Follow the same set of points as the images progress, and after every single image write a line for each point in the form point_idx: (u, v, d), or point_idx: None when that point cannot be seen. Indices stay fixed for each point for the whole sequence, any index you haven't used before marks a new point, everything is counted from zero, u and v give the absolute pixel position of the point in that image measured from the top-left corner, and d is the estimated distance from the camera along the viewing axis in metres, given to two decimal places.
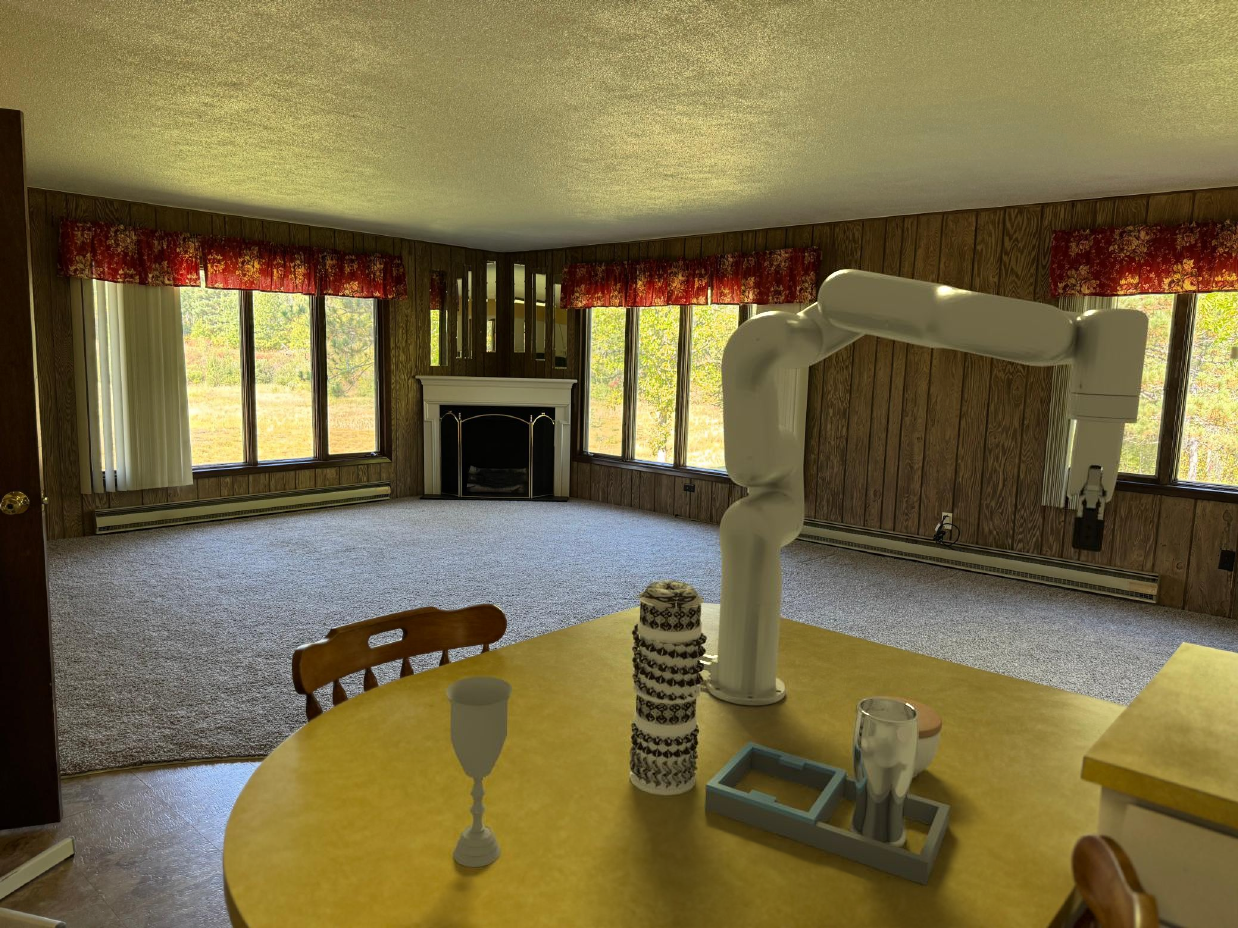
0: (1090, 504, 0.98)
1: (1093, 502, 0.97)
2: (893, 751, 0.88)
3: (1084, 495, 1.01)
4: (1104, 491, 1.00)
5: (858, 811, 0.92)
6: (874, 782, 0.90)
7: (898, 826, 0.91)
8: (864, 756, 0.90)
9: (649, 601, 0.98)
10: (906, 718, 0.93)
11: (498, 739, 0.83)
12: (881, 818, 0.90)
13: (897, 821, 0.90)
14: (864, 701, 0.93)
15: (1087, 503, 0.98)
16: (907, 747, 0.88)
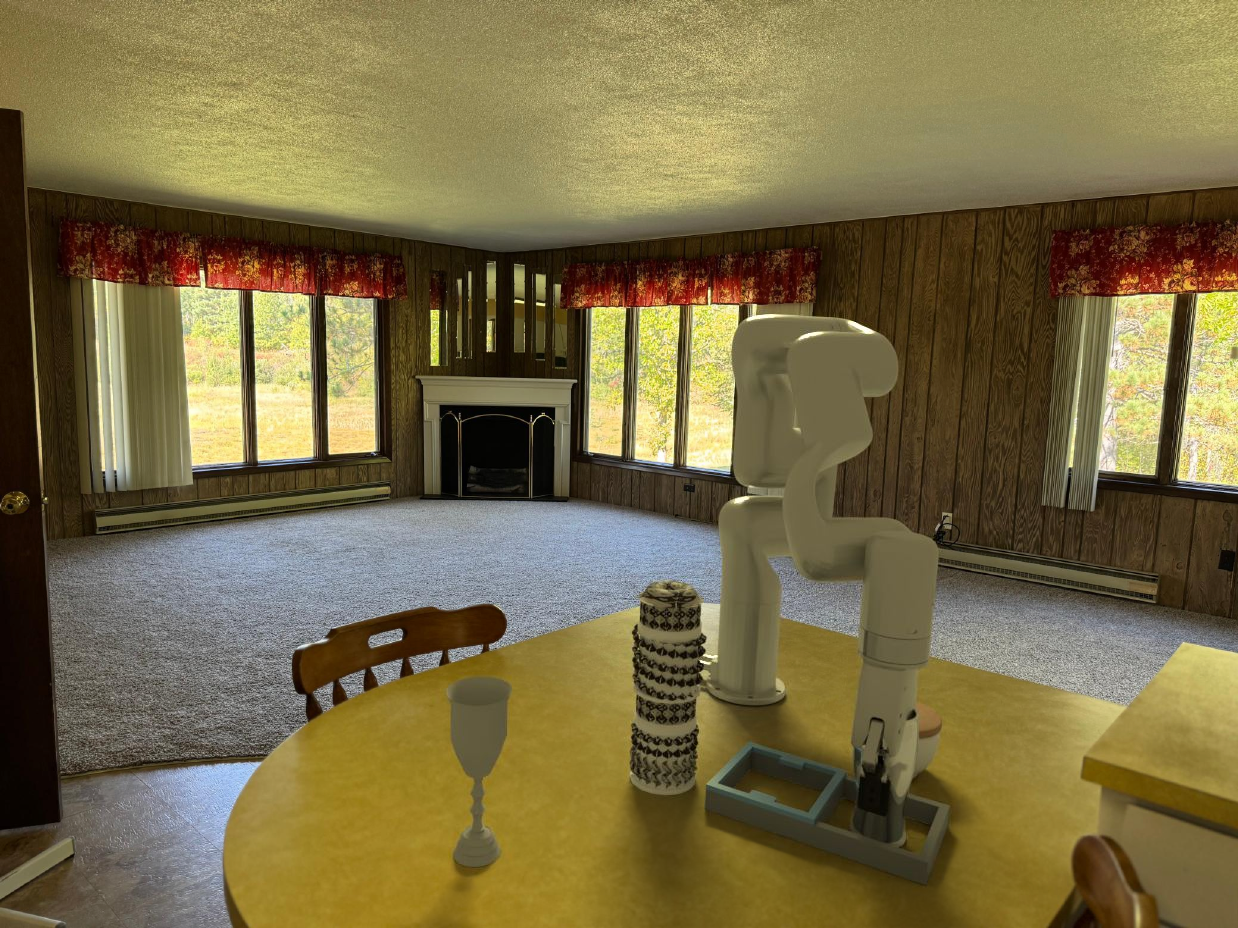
0: (869, 771, 0.86)
1: (871, 770, 0.86)
2: None
3: None
4: None
5: (858, 811, 0.92)
6: None
7: (898, 826, 0.91)
8: None
9: (649, 601, 0.98)
10: None
11: (498, 739, 0.83)
12: (881, 818, 0.90)
13: (897, 821, 0.90)
14: None
15: (866, 769, 0.86)
16: (907, 747, 0.88)
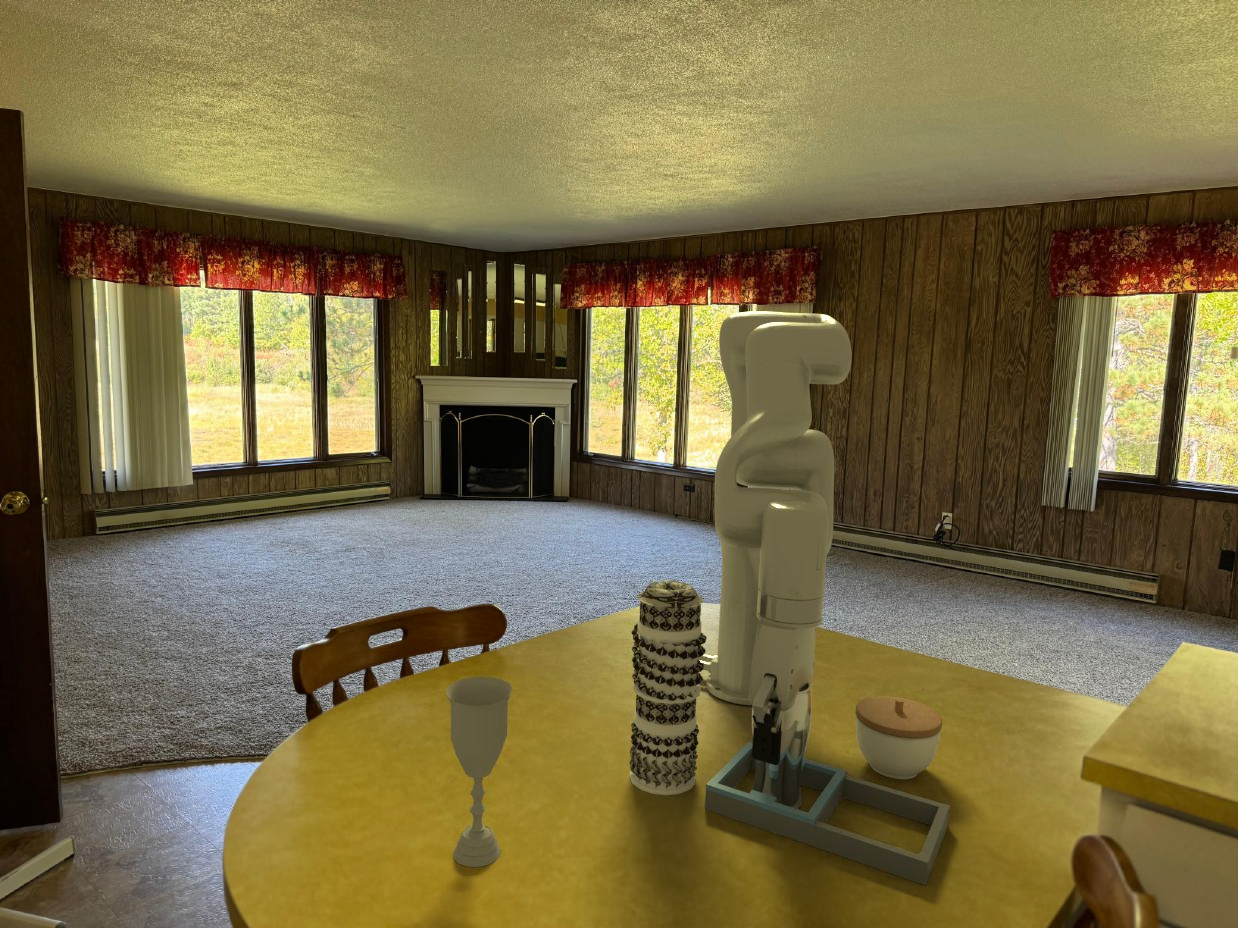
0: (759, 719, 0.91)
1: (761, 718, 0.91)
2: (785, 720, 0.95)
3: None
4: None
5: (757, 778, 0.98)
6: None
7: (793, 791, 0.97)
8: None
9: (649, 601, 0.98)
10: None
11: (498, 739, 0.83)
12: (777, 784, 0.97)
13: (792, 786, 0.97)
14: None
15: (756, 718, 0.91)
16: (799, 716, 0.95)
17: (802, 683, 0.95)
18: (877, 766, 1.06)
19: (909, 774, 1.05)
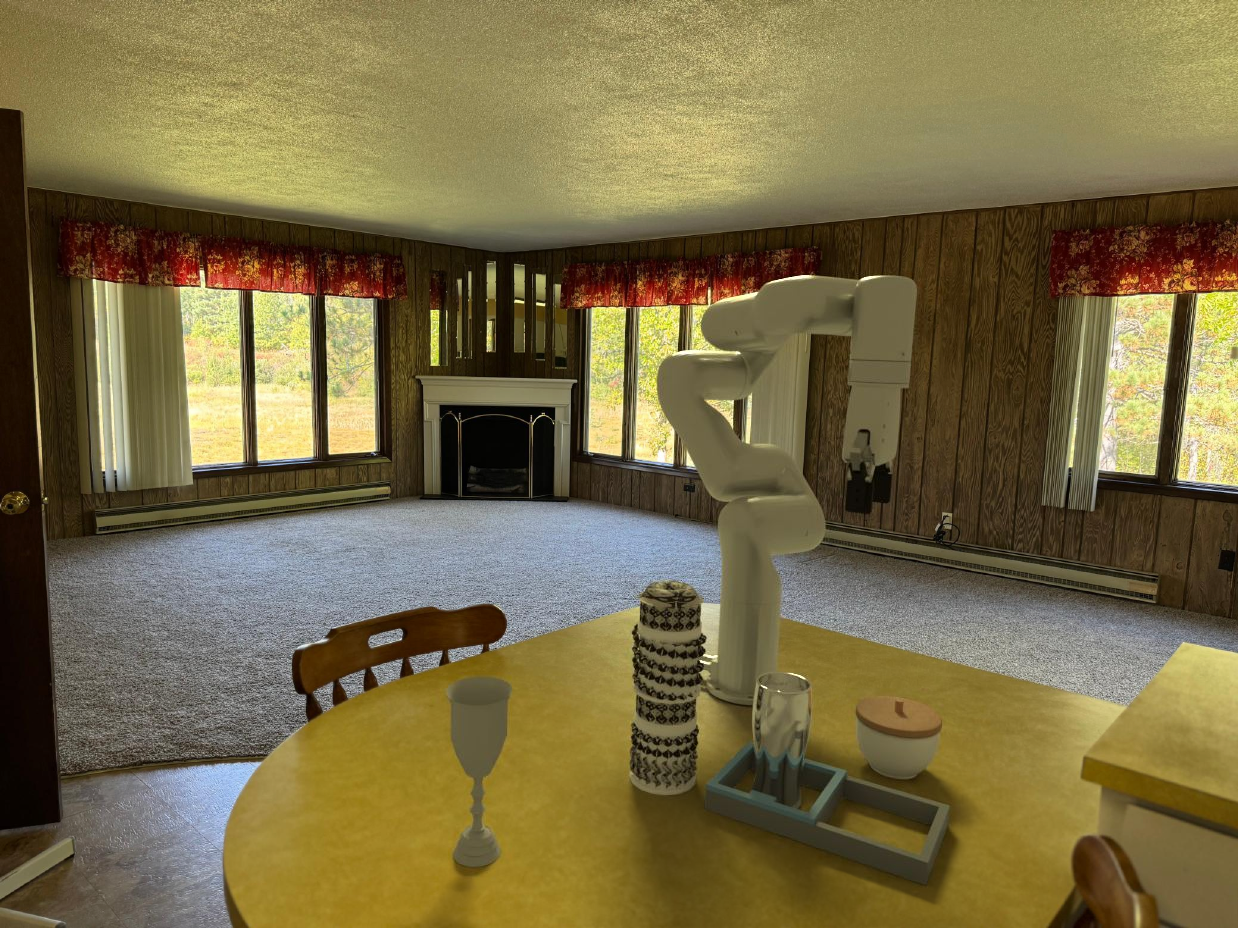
0: (855, 466, 1.00)
1: (857, 464, 0.99)
2: (786, 720, 0.95)
3: None
4: (874, 455, 1.02)
5: (757, 777, 0.98)
6: (769, 750, 0.96)
7: (793, 791, 0.97)
8: (760, 726, 0.96)
9: (649, 601, 0.98)
10: (802, 691, 0.99)
11: (498, 739, 0.83)
12: (777, 784, 0.97)
13: (792, 786, 0.97)
14: (764, 675, 1.00)
15: (852, 466, 1.00)
16: (799, 717, 0.95)
17: (890, 445, 1.04)
18: (877, 765, 1.06)
19: (909, 774, 1.05)
